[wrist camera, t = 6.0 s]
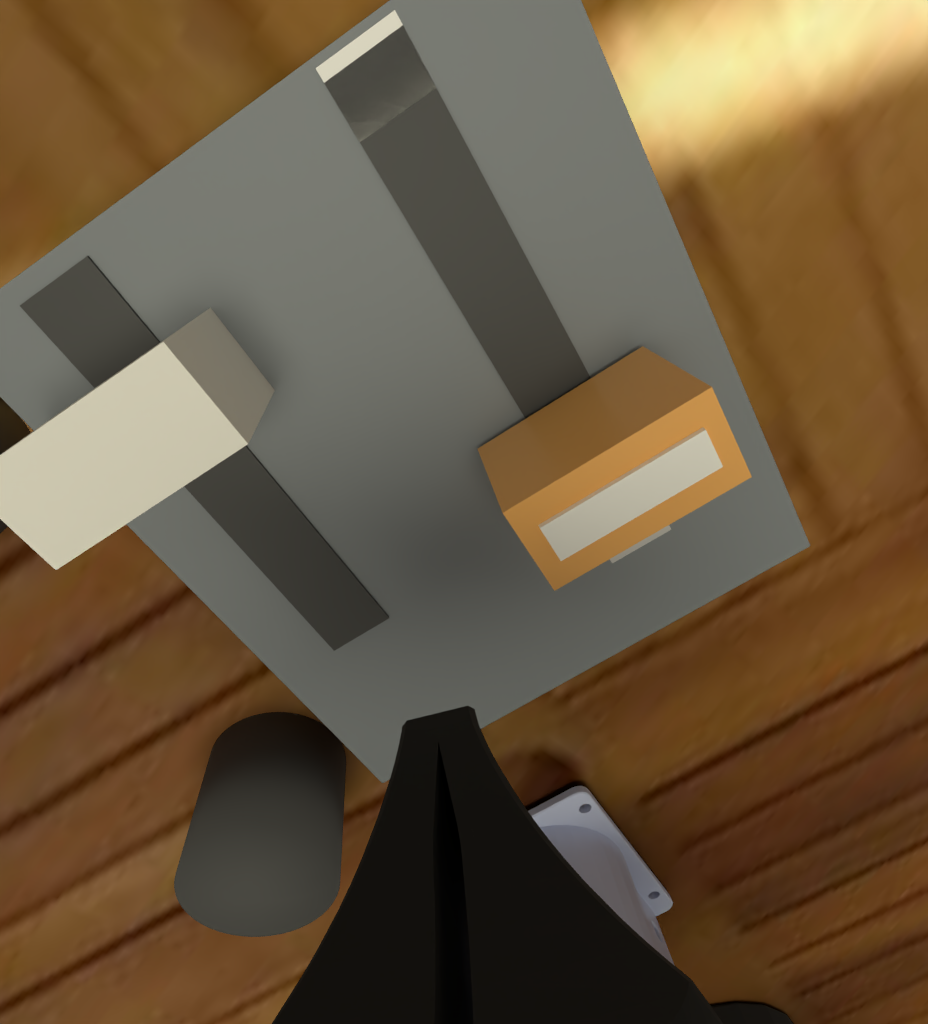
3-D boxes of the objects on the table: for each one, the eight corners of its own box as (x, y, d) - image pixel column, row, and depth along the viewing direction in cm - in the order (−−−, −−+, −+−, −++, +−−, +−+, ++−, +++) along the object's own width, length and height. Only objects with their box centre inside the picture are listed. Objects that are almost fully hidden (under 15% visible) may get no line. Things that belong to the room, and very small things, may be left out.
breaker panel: (768, 511, 23) (899, 618, 18) (381, 730, 26) (383, 891, 20) (512, -66, 16) (593, -214, 10) (-7, 315, 18) (-192, 377, 12)
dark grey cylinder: (371, 771, 26) (371, 890, 22) (268, 829, 27) (246, 956, 23) (291, 690, 24) (272, 803, 20) (180, 755, 25) (138, 879, 20)
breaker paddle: (678, 420, 18) (755, 479, 15) (520, 515, 19) (555, 594, 15) (642, 346, 17) (715, 388, 14) (477, 448, 18) (503, 515, 14)
